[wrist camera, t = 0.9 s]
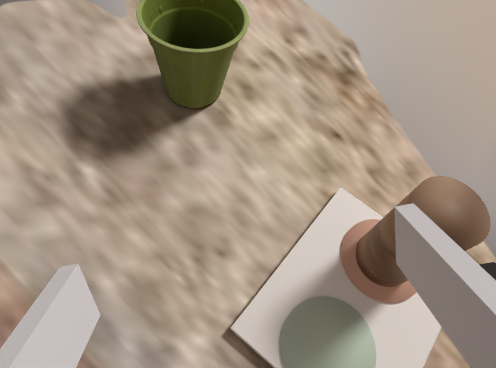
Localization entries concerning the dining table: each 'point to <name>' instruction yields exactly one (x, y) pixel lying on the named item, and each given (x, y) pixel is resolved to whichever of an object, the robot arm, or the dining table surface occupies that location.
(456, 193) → the walnut canister
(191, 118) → the dining table surface
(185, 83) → the plant pot
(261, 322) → the board
